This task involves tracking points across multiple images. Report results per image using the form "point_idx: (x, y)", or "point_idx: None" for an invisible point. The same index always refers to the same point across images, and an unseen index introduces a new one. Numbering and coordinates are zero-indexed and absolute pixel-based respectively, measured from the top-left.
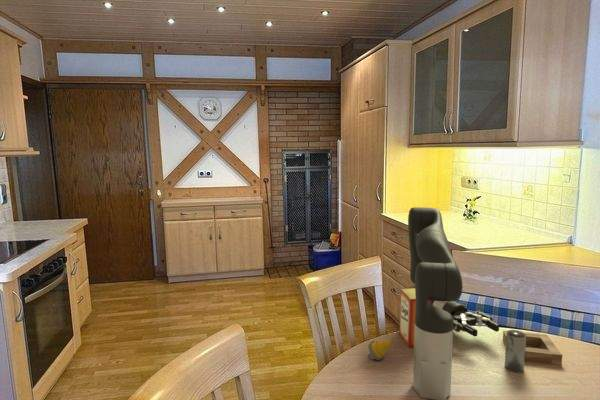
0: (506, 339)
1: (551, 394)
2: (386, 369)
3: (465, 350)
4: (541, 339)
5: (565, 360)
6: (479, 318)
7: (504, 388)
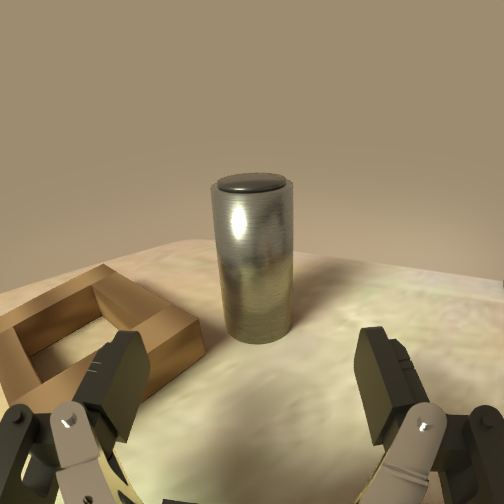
0: (286, 221)
1: None
2: None
3: None
4: (20, 325)
5: None
6: (114, 481)
7: (372, 274)
